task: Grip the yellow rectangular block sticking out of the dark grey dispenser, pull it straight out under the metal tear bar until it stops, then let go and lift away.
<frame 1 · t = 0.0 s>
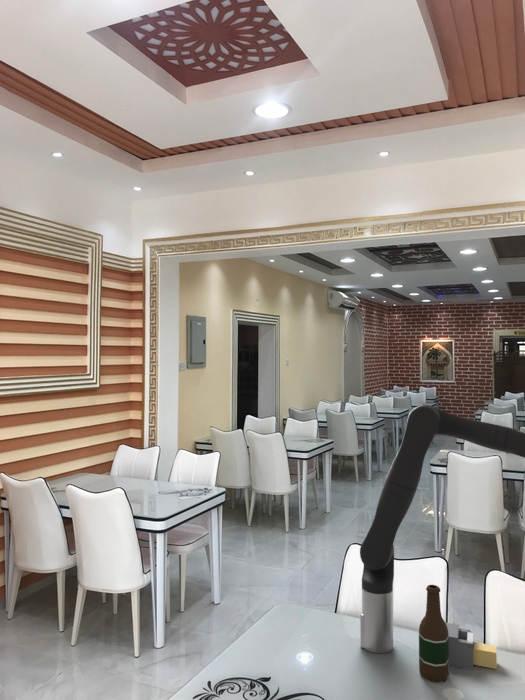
beer bottle: (433, 676, 149), on the table
dispenser: (451, 657, 158), on the table
yellow rectangular block: (479, 654, 155), point 3 cm above the table, slide at 0.0 cm
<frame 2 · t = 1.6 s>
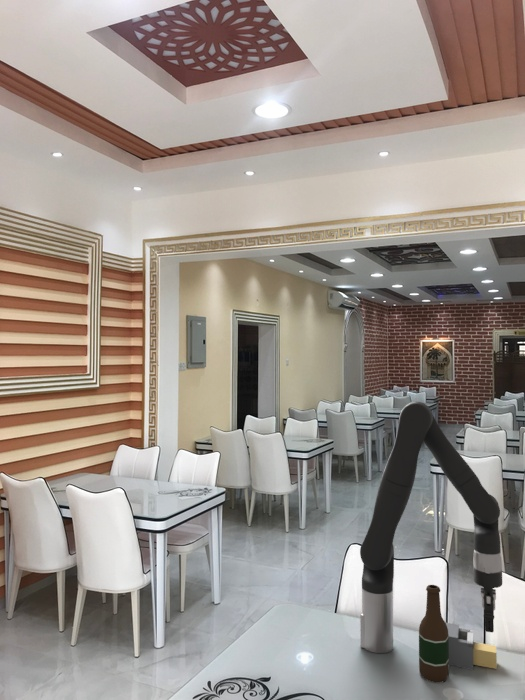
hand: (489, 624, 155), 11 cm above the table, tool pointing down, fingers open, 8 cm apart
nothing on the table moved.
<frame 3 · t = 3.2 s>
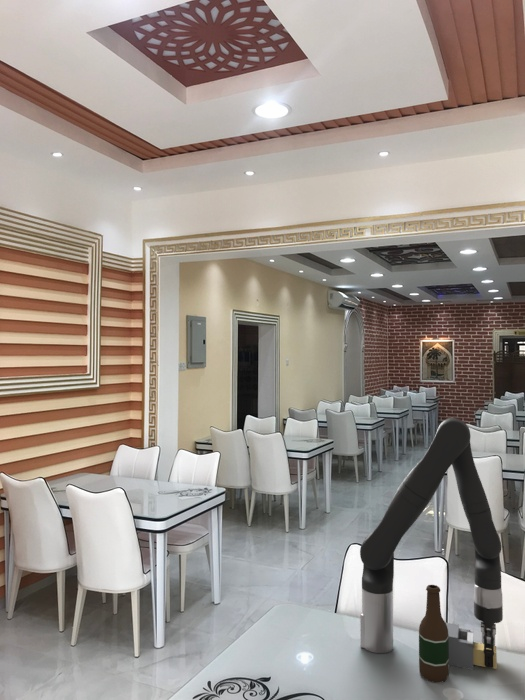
hand: (488, 662, 154), 1 cm above the table, tool pointing down, fingers closed on yellow rectangular block, 4 cm apart
yellow rectangular block: (479, 654, 155), point 3 cm above the table, slide at 0.0 cm, touching gripper
everything else where it was.
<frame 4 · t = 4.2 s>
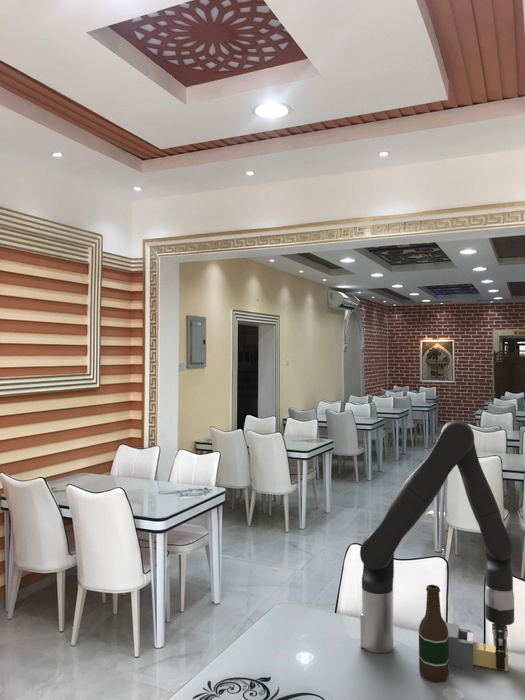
hand: (500, 664, 153), 1 cm above the table, tool pointing down, fingers closed on yellow rectangular block, 4 cm apart
yellow rectangular block: (490, 656, 154), point 3 cm above the table, slide at 3.0 cm, touching gripper
everything else where it was.
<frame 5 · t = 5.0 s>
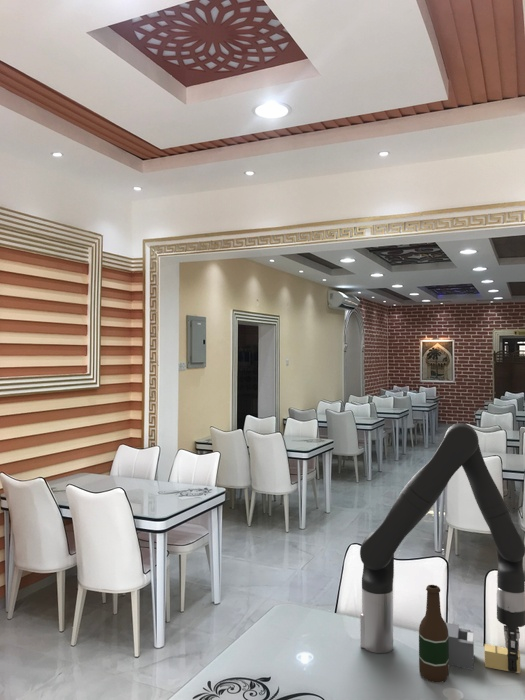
hand: (512, 666, 152), 1 cm above the table, tool pointing down, fingers closed on yellow rectangular block, 4 cm apart
yellow rectangular block: (502, 658, 153), point 3 cm above the table, slide at 6.0 cm, touching gripper
everything else where it was.
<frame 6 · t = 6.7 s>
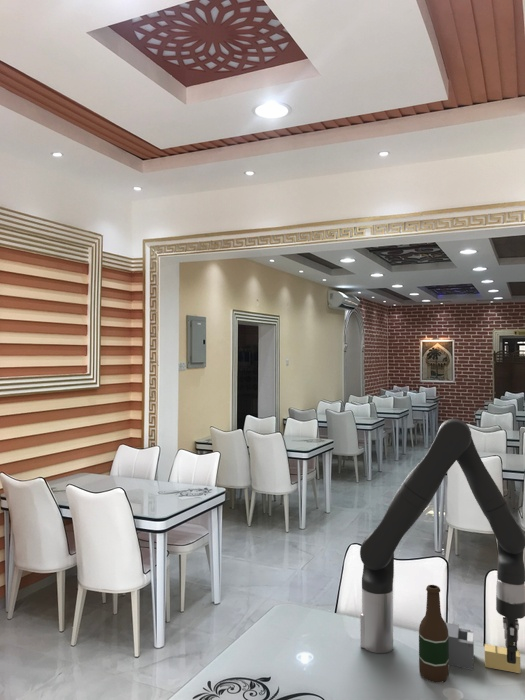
hand: (510, 654, 152), 4 cm above the table, tool pointing down, fingers open, 8 cm apart
yellow rectangular block: (502, 658, 153), point 3 cm above the table, slide at 6.0 cm
everything else where it was.
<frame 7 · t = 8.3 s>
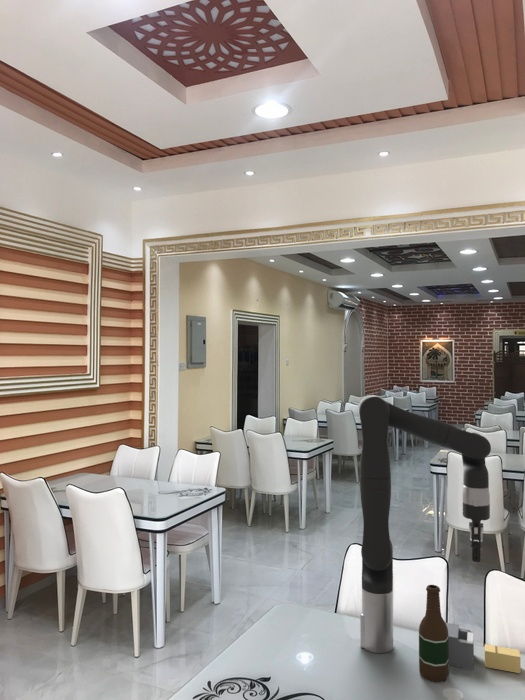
hand: (476, 556, 162), 28 cm above the table, tool pointing down, fingers open, 8 cm apart
nothing on the table moved.
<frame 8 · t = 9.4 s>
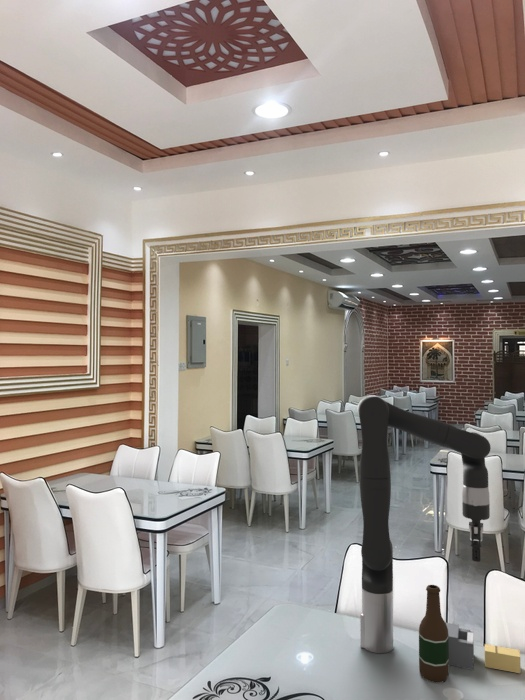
hand: (476, 556, 162), 28 cm above the table, tool pointing down, fingers open, 8 cm apart
nothing on the table moved.
at the end: yellow rectangular block slide at 6.0 cm; the gripper is holding nothing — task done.
